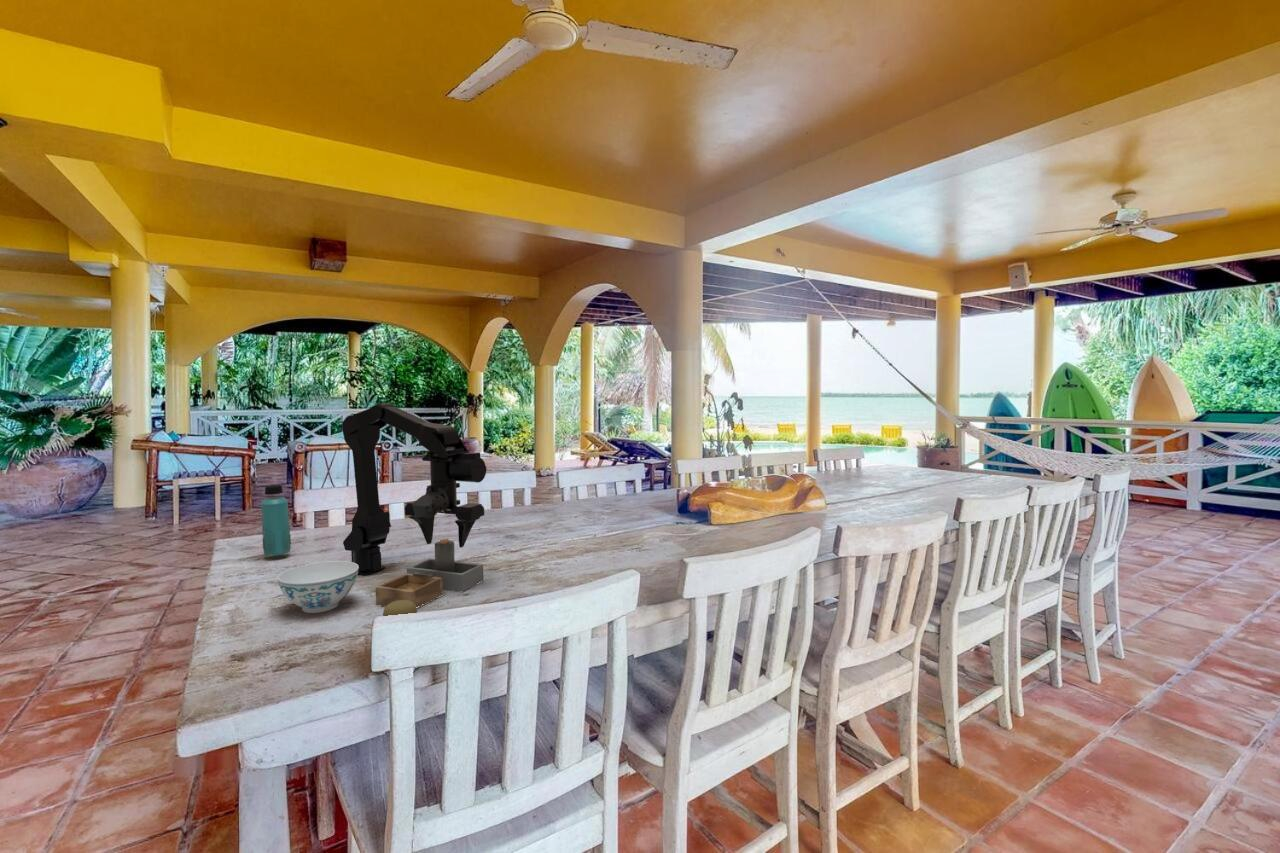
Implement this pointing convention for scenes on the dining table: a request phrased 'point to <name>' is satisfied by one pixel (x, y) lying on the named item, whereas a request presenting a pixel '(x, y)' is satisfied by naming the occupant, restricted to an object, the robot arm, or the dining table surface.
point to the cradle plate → (409, 586)
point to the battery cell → (444, 556)
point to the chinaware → (318, 584)
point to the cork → (400, 610)
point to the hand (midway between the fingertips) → (445, 545)
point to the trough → (452, 574)
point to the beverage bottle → (275, 523)
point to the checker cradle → (419, 595)
